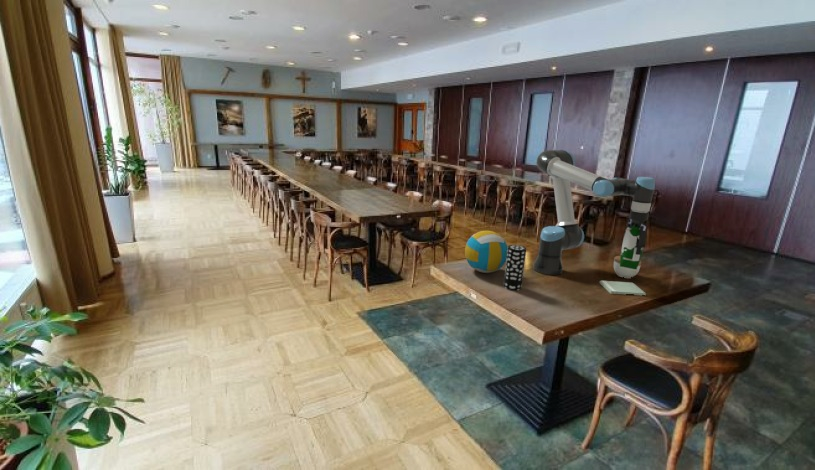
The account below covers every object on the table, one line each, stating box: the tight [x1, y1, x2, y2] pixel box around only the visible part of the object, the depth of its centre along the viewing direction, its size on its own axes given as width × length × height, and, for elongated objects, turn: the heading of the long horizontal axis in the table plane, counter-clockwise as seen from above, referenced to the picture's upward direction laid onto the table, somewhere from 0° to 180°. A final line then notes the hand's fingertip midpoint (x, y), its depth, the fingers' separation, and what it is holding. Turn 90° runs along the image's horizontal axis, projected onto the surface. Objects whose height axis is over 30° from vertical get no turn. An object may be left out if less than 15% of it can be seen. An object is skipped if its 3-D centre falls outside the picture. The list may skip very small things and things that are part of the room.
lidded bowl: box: [613, 255, 642, 279], centre depth 211 cm, size 13×13×11 cm
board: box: [599, 280, 647, 296], centre depth 195 cm, size 16×13×1 cm
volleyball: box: [464, 230, 508, 274], centre depth 207 cm, size 22×22×22 cm
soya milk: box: [619, 226, 644, 269], centre depth 188 cm, size 9×9×20 cm
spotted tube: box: [503, 244, 527, 292], centre depth 189 cm, size 8×8×20 cm
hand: (630, 257), depth 190 cm, fingers closed on soya milk, 9 cm apart
